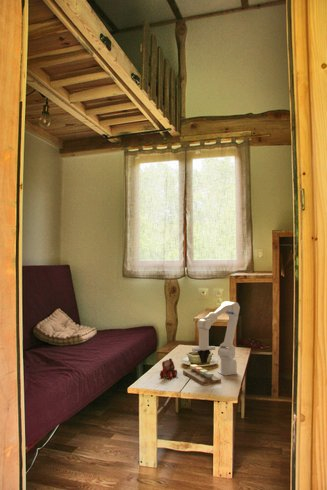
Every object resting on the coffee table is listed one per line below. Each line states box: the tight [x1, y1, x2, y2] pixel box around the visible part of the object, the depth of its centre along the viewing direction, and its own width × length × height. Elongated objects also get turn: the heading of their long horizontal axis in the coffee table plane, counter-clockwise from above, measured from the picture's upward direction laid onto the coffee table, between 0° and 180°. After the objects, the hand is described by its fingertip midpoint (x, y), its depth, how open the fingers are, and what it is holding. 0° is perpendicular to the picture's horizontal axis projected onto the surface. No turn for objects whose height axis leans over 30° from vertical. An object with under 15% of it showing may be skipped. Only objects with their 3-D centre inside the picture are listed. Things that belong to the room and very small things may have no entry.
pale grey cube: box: [204, 371, 214, 380], centre depth 228 cm, size 4×4×4 cm
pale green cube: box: [199, 368, 209, 377], centre depth 234 cm, size 4×4×4 cm
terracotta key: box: [195, 366, 204, 374], centre depth 239 cm, size 4×4×4 cm
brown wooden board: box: [182, 368, 222, 386], centre depth 236 cm, size 12×25×2 cm, turn 23°
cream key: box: [189, 364, 200, 372], centre depth 245 cm, size 4×4×4 cm
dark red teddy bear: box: [159, 357, 178, 380], centre depth 238 cm, size 7×12×10 cm, turn 147°
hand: (203, 363), depth 234 cm, fingers closed
